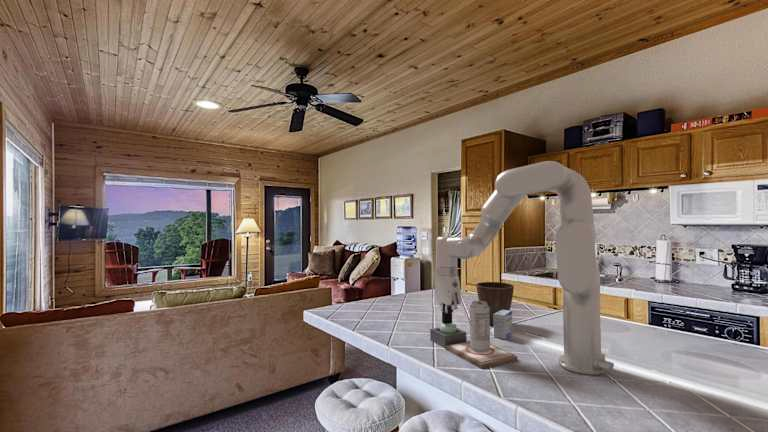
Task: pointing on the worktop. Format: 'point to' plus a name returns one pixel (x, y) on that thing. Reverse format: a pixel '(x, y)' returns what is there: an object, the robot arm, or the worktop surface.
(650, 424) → the worktop surface
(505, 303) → the plant pot
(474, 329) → the energy drink can
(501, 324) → the medicine box
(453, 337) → the button housing
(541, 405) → the worktop surface
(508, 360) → the sketch board
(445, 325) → the button
